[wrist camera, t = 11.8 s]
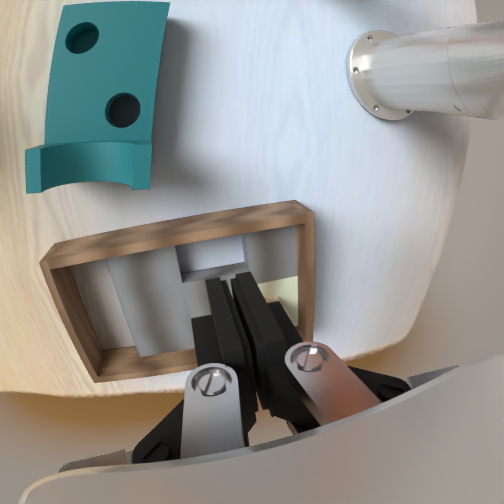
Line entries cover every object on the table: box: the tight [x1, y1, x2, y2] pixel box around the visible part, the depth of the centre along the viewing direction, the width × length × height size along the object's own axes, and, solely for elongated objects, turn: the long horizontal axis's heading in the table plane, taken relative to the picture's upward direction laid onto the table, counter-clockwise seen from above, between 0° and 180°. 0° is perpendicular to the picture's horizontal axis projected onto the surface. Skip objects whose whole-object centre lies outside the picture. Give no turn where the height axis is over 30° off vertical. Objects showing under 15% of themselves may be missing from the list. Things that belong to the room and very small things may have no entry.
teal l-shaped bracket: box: [25, 1, 170, 194], centre depth 23 cm, size 18×11×10 cm, turn 173°
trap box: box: [39, 200, 315, 383], centre depth 36 cm, size 30×18×6 cm, turn 95°
